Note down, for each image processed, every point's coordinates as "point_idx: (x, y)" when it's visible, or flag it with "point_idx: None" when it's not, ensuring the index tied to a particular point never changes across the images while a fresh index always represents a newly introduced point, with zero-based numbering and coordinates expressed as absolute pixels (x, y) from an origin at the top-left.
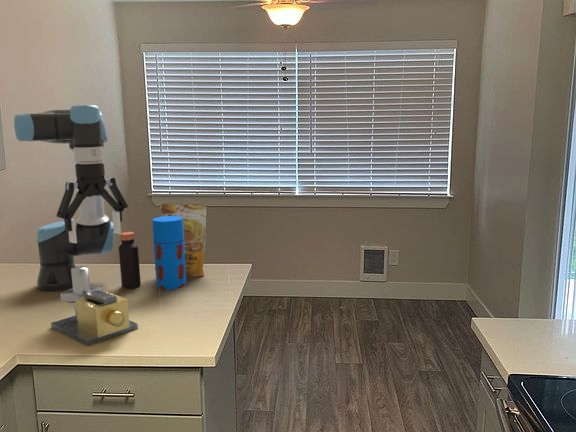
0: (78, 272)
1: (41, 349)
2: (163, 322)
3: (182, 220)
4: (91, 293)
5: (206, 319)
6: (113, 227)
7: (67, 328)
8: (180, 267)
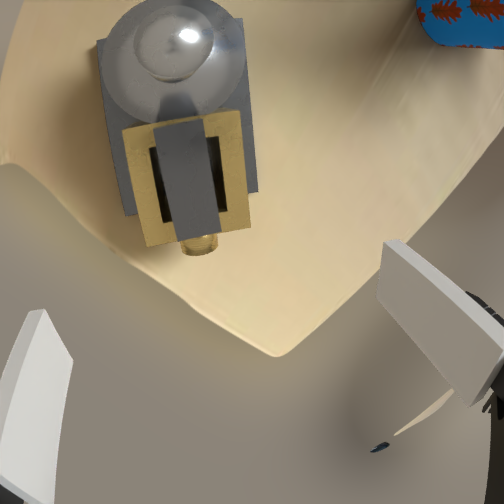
0: (152, 73)
1: (45, 167)
2: (312, 195)
3: None
4: (171, 148)
5: (369, 239)
6: (409, 264)
7: (112, 105)
8: (479, 47)
